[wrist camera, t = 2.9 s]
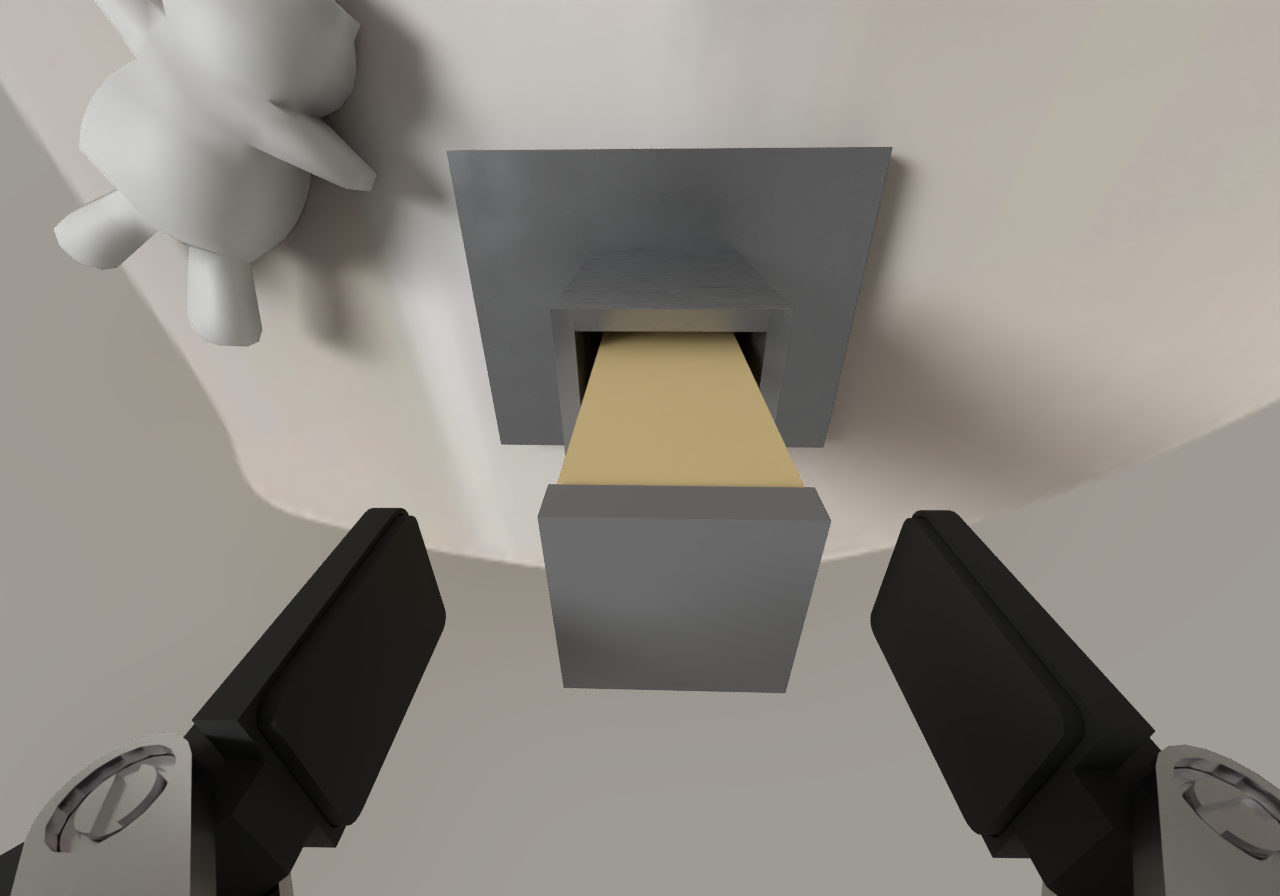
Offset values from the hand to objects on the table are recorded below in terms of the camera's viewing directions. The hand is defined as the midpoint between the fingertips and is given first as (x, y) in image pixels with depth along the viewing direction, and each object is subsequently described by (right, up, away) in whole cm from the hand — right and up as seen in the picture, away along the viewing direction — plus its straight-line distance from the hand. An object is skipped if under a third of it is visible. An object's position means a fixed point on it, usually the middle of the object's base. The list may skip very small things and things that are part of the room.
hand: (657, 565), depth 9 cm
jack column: (+1, +8, +13) cm, 15 cm away
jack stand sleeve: (+1, +9, +15) cm, 17 cm away
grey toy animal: (-17, +16, +12) cm, 26 cm away
